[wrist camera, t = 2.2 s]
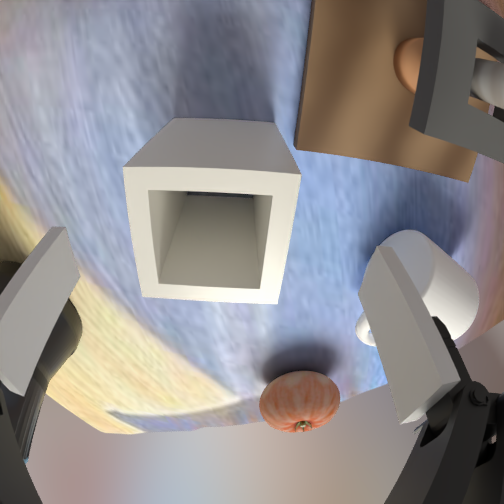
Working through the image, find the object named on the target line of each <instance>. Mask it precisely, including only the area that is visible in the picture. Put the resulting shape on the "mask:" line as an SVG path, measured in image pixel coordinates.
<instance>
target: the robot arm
mask: <svg viewBox="0 0 504 504" xmlns="http://www.w3.org/2000/svg"><path fill="white" fill-rule="evenodd" d="M79 278H80V274H79V271H78V268H77V265H76V261H75V258H74V255H73V251H72V248H71V245H70V241H69V237H68V234H67V230H66V227H52V228H51V229H50V230H49V231H48V232H47V234H46V235H45V236H44V237H43V238H42V240H41V241H40V242H39V243H38V245H37V246H36V247H35V248H34V250H33V251H32V252H31V253H30V255H29V256H28V257H27V259H26V260H25V261H24V262H23V264H19V263H15V262H0V504H42V501H41V499H40V497H39V496H38V493H37V491H36V489H35V486H34V484H33V482H32V480H31V477H30V475H29V473H28V470H27V468H26V465H25V464H26V463H27V462H28V458H29V457H28V456H29V451H30V447H31V443H32V438H33V434H34V431H35V427H36V423H37V419H38V416H39V412H40V408H41V405H42V402H43V398H44V395H45V393H46V390H47V387H48V384H49V381H50V380H51V378H52V377H53V376H54V375H55V374H56V372H57V371H58V370H59V369H60V368H61V366H62V365H63V364H64V363H65V361H66V360H67V359H68V358H69V357H70V356H71V355H72V354H73V353H74V352H75V350H76V349H77V346H78V343H79V341H80V338H81V336H82V324H81V320H80V318H79V316H78V313H77V312H76V310H75V308H74V307H73V305H72V304H71V302H70V301H69V300H68V298H69V296H70V294H71V292H72V291H73V289H74V287H75V285H76V283H77V282H78V280H79ZM358 296H359V298H360V301H361V304H362V307H363V309H364V312H365V315H366V318H367V320H368V323H369V326H370V329H371V332H372V335H373V338H374V341H375V343H376V346H377V349H378V353H379V356H380V359H381V362H382V365H383V368H384V371H385V375H386V378H387V381H388V384H389V387H390V391H391V394H392V398H393V401H394V405H395V409H396V412H397V416H398V420H399V423H400V424H402V423H407V422H412V421H416V420H418V419H419V418H420V417H421V416H423V415H424V414H425V413H426V415H427V418H428V419H427V420H426V421H425V422H423V423H422V424H421V425H420V426H418V427H417V428H416V429H415V430H414V432H413V433H414V434H415V433H417V432H418V431H420V430H421V432H420V434H419V435H418V438H417V441H416V443H415V445H414V447H413V450H412V452H411V454H410V456H409V458H408V460H407V463H406V465H405V467H404V468H403V471H402V473H401V474H400V476H399V478H398V480H397V482H396V484H395V486H394V487H393V489H392V491H391V493H390V495H389V496H388V498H387V500H386V501H385V503H384V504H504V392H503V393H502V394H497V393H489V392H488V391H487V389H486V388H485V387H484V386H483V385H482V384H481V383H479V382H476V381H473V382H472V380H471V378H470V376H469V374H468V372H467V369H466V367H465V365H464V362H463V360H462V358H461V356H460V354H459V352H458V349H457V348H455V346H456V345H455V343H454V341H453V339H451V335H450V333H449V331H448V329H447V327H446V325H445V324H444V323H443V322H442V321H441V320H440V319H439V318H438V317H437V316H431V315H430V313H429V311H428V309H427V307H426V305H425V303H424V302H423V300H422V298H421V296H420V294H419V292H418V291H417V289H416V287H415V285H414V283H413V282H412V280H411V278H410V276H409V275H408V273H407V271H406V269H405V268H404V266H403V264H402V263H401V261H400V259H399V258H398V256H397V254H396V253H395V251H394V250H393V248H392V247H387V246H376V249H375V252H374V254H373V257H372V260H371V262H370V265H369V267H368V270H367V272H366V275H365V277H364V280H363V282H362V285H361V287H360V290H359V292H358ZM494 435H496V442H494V443H493V444H492V441H491V438H492V437H493V436H494Z"/></svg>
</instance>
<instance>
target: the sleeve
mask: <svg viewBox="0 0 504 504" xmlns="http://www.w3.org/2000/svg"><path fill="white" fill-rule="evenodd" d="M123 174H124V184H125V193H126V202H127V210H128V217H129V224H130V231H131V237H132V244H133V250H134V255H135V261H136V267H137V272H138V277H139V282H140V287H141V292H142V296H143V297H154V298H167V299H181V300H197V301H214V302H235V303H261V304H277V303H278V298H279V293H280V288H281V283H282V278H283V273H284V268H285V263H286V258H287V253H288V247H289V242H290V237H291V231H292V226H293V221H294V215H295V209H296V204H297V198H298V192H299V187H300V181H301V173H300V170H299V168H298V166H297V164H296V162H295V160H294V158H293V156H292V154H291V152H290V150H289V149H288V147H287V145H286V143H285V141H284V139H283V137H282V135H281V133H280V131H279V129H278V127H277V126H276V124H275V123H273V122H262V121H249V120H234V119H211V118H173V119H172V120H171V121H170V122H169V123H168V124H167V125H165V126H164V127H163V128H162V129H161V130H160V131H159V132H158V133H157V134H156V135H155V136H154V137H153V138H151V139H150V140H149V141H148V142H147V143H146V144H145V145H144V146H143V147H142V148H141V149H140V150H139V151H138V152H137V153H136V154H135V155H134V156H133V157H132V158H131V159H130V160H129V161H128V162H127V163H126V164H125V165H124V166H123ZM187 191H200V192H222V193H241V194H253V198H242V197H224V196H202V195H187Z"/></svg>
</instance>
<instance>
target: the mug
mask: <svg viewBox="0 0 504 504" xmlns="http://www.w3.org/2000/svg"><path fill="white" fill-rule="evenodd" d="M379 246H387V247H392V248H393V250H394V251H395V253H396V254H397V256H398V258H399V259H400V261H401V263H402V264H403V266H404V268H405V269H406V271H407V273H408V275H409V276H410V278H411V280H412V282H413V283H414V285H415V287H416V289H417V291H418V292H419V294H420V296H421V298H422V300H423V302H424V303H425V305H426V307H427V309H428V311H429V313H430V315H431V316H437V317H438V318H439V319H440V320H441V321H442V322H443V323H444V324H445V325H446V327H447V329H448V331H449V333H450V335H451V339H453V340H455V339H457V338H458V337H460V336H461V335H462V334H464V333H465V332H466V331H467V329H468V328H469V327H470V326H471V324H472V322H473V321H474V319H475V316H476V314H477V310H478V306H479V292H478V287H477V285H476V282H475V281H474V279H473V278H472V276H471V275H470V274H469V273H468V272H466V271H465V270H464V269H463V268H462V267H461V266H460V265H459V264H458V263H457V262H456V261H454V260H453V259H452V258H451V257H450V256H449V255H448V254H447V253H445V252H444V251H443V250H442V249H441V248H440V247H439V246H437V245H436V244H435V243H434V242H433V241H432V240H430V239H429V238H428V237H427V236H426V235H424V234H423V233H421V232H419V231H416V230H402V231H399V232H396V233H394V234H392V235H391V236H389V237H388V238H387V239H385V240H384V241H383V242H382V243H381V244H380V245H379ZM373 254H374V253H373ZM372 257H373V255H372V256H371V258H370V260H369V262H368V264H367V267H366V270H365V273H364V277H365V275H366V272H367V270H368V267H369V265H370V262H371V260H372ZM364 277H363V280H364ZM369 330H370V326H369V323H368V320H367V318H366V315H365V312H363V313H362V314H361V316H360V317H359V319H358V321H357V323H356V326H355V332H356V335H357V337H358V338H359V339H360V340H361V341H362V342H364V343H365V344H367V345H370V346H376V343H375V341H374V338H373V335H372V333H370V332H369Z"/></svg>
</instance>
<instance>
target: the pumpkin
mask: <svg viewBox="0 0 504 504" xmlns="http://www.w3.org/2000/svg"><path fill="white" fill-rule="evenodd" d="M339 404H340V393H339V390H338V388H337V386H336V384H335V383H334V382H333V381H332V380H331V379H330V378H328V377H327V376H325V375H323V374H321V373H318V372H313V371H295V372H290V373H287V374H284V375H282V376H280V377H278V378H276V379H275V380H273V381H272V382H271V383H269V384H268V385H267V387H266V388H265V389H264V391H263V393H262V395H261V398H260V404H259V407H260V412H261V414H262V416H263V418H264V420H265V421H266V422H267V423H268V424H269V425H270V426H271V427H273V428H275V429H278V430H281V431H284V432H304V431H309V430H312V429H315V428H318V427H320V426H322V425H324V424H326V423H327V422H329V421H330V420H331V419H332V418H333V416H334V415H335V414H336V412H337V410H338V408H339Z"/></svg>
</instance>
